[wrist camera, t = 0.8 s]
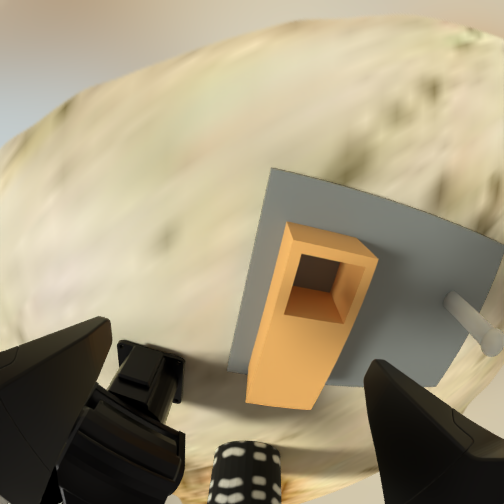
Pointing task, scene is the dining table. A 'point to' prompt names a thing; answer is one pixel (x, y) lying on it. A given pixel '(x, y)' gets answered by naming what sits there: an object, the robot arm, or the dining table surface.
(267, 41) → the dining table surface
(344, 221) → the keeper board
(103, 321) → the robot arm
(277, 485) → the spotted tube
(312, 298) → the orange rectangular block
